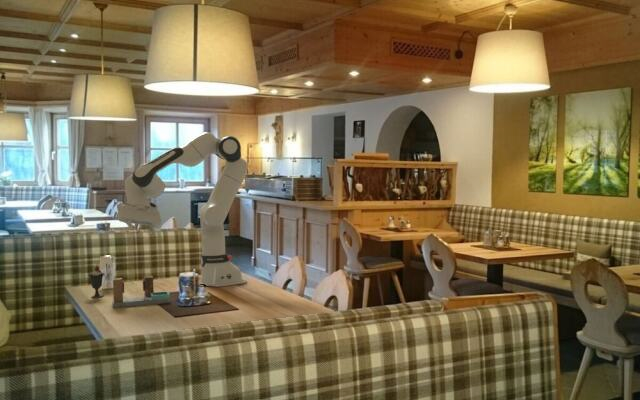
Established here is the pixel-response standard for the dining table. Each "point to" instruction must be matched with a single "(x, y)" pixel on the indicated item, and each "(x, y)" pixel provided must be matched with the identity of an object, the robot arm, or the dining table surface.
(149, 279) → the walnut finger
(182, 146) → the robot arm
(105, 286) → the white carton
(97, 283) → the sundae
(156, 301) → the rail
